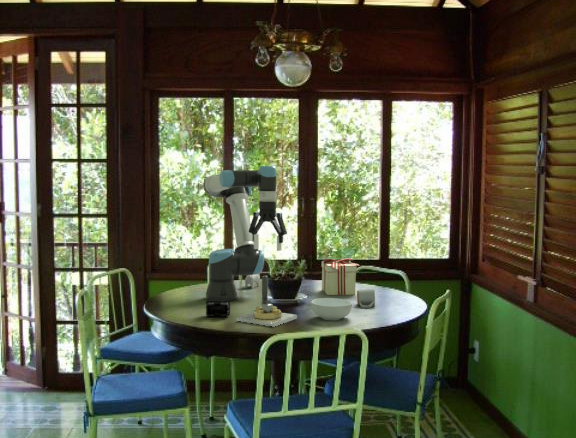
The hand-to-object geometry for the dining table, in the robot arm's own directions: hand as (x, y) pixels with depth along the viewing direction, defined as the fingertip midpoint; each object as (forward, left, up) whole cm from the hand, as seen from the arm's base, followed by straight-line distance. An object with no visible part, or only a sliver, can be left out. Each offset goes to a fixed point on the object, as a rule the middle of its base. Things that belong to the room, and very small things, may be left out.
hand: (267, 249), depth 300 cm
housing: (+13, -20, -26) cm, 36 cm away
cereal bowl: (+34, -3, -27) cm, 43 cm away
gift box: (+12, +49, -27) cm, 57 cm away
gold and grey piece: (+11, -18, -25) cm, 33 cm away
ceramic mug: (+36, +27, -27) cm, 53 cm away
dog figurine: (-34, +39, -26) cm, 58 cm away
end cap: (-8, -26, -27) cm, 38 cm away
